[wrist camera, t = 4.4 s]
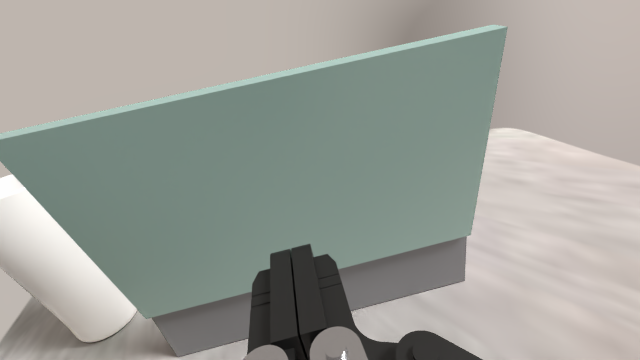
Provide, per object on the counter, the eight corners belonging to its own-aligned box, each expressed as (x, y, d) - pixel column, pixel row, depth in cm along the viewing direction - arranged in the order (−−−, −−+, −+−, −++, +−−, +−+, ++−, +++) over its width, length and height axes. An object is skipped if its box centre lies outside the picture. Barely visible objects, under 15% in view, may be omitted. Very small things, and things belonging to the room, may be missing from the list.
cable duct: (396, 195, 38) (393, 160, 36) (464, 280, 25) (466, 232, 22) (211, 241, 37) (196, 207, 35) (177, 357, 23) (149, 314, 21)
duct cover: (493, 24, 15) (507, 26, 14) (462, 225, 23) (470, 235, 22) (0, 133, 14) (-17, 143, 13) (150, 306, 22) (146, 318, 21)
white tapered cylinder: (75, 315, 30) (-33, 186, 23) (147, 280, 32) (70, 156, 26) (64, 370, 24) (-80, 222, 18) (152, 322, 27) (55, 178, 20)
